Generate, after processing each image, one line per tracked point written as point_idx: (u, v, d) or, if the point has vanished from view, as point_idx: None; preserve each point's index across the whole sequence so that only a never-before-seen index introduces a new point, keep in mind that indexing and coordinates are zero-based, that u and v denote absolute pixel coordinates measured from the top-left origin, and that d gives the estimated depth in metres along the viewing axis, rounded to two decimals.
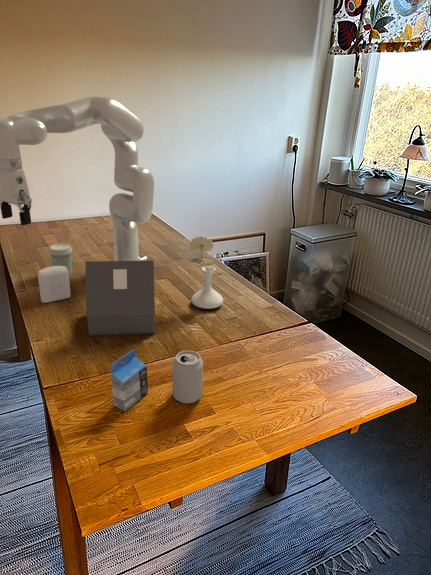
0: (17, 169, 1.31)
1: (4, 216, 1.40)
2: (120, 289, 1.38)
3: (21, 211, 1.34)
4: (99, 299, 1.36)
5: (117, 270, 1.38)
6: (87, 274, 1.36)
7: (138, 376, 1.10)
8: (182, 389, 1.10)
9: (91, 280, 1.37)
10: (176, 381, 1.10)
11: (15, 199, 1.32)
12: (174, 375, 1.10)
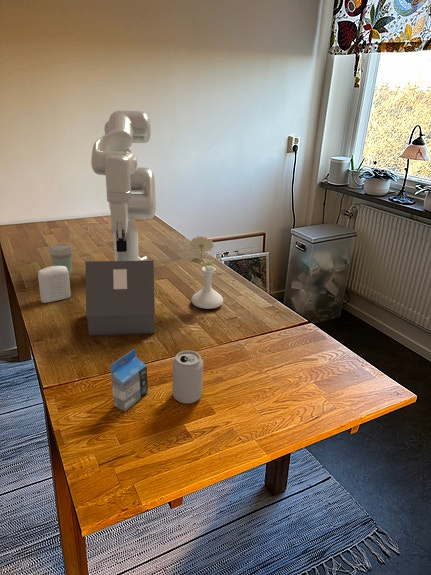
0: None
1: None
2: (120, 289, 1.38)
3: (125, 237, 1.50)
4: (99, 299, 1.36)
5: (117, 270, 1.38)
6: (87, 274, 1.36)
7: (138, 376, 1.10)
8: (182, 389, 1.10)
9: (91, 280, 1.37)
10: (176, 381, 1.10)
11: None
12: (174, 375, 1.10)
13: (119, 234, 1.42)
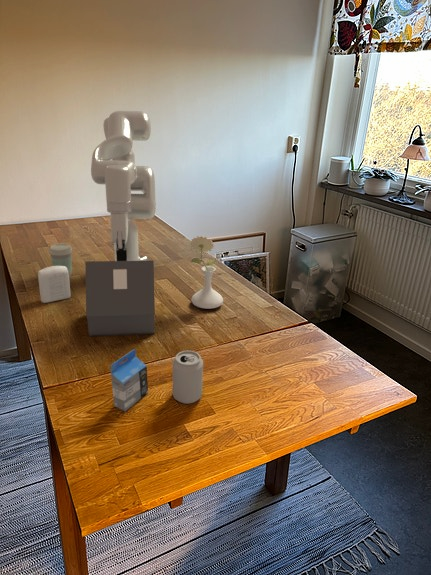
0: None
1: None
2: (120, 289, 1.38)
3: (125, 246, 1.49)
4: (99, 299, 1.36)
5: (117, 270, 1.38)
6: (87, 274, 1.36)
7: (138, 376, 1.10)
8: (182, 389, 1.10)
9: (91, 280, 1.37)
10: (176, 381, 1.10)
11: None
12: (174, 375, 1.10)
13: (119, 244, 1.42)
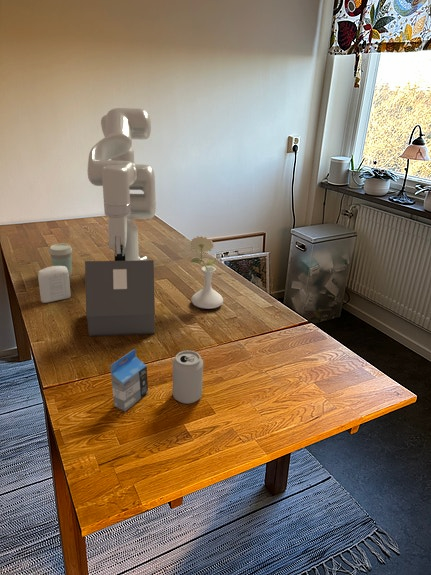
0: None
1: None
2: (120, 289, 1.37)
3: None
4: (99, 299, 1.36)
5: (117, 270, 1.37)
6: (87, 274, 1.36)
7: (138, 376, 1.10)
8: (182, 389, 1.10)
9: (91, 280, 1.36)
10: (176, 381, 1.10)
11: None
12: (174, 375, 1.10)
13: (117, 250, 1.33)
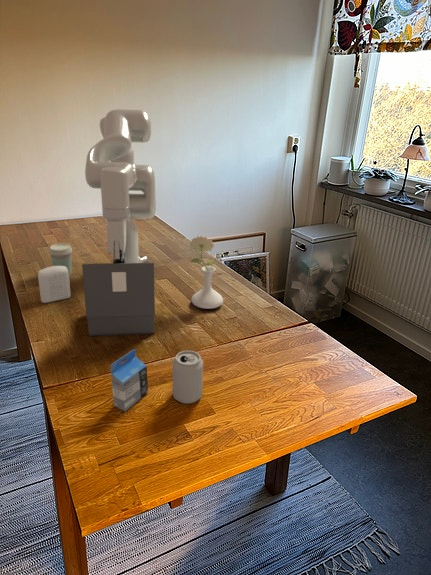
0: None
1: None
2: (119, 291, 1.34)
3: (123, 256, 1.35)
4: (98, 301, 1.34)
5: (116, 273, 1.32)
6: (85, 277, 1.31)
7: (138, 376, 1.10)
8: (182, 389, 1.10)
9: (89, 283, 1.32)
10: (176, 381, 1.10)
11: None
12: (174, 375, 1.10)
13: (116, 255, 1.28)
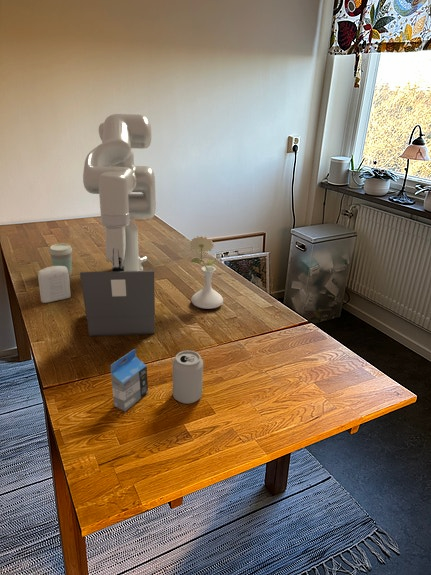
0: None
1: None
2: (119, 296, 1.32)
3: (122, 264, 1.31)
4: (98, 304, 1.33)
5: (115, 280, 1.28)
6: (83, 284, 1.28)
7: (138, 376, 1.10)
8: (182, 389, 1.10)
9: (88, 289, 1.29)
10: (176, 381, 1.10)
11: None
12: (174, 375, 1.10)
13: (115, 263, 1.23)
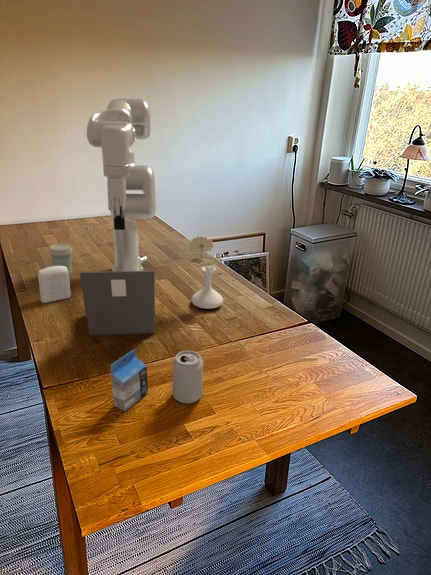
0: None
1: None
2: (119, 296, 1.32)
3: (123, 214, 1.41)
4: (98, 304, 1.33)
5: (115, 280, 1.28)
6: (83, 284, 1.28)
7: (138, 376, 1.10)
8: (182, 389, 1.10)
9: (88, 289, 1.29)
10: (176, 381, 1.10)
11: None
12: (174, 375, 1.10)
13: (117, 211, 1.34)
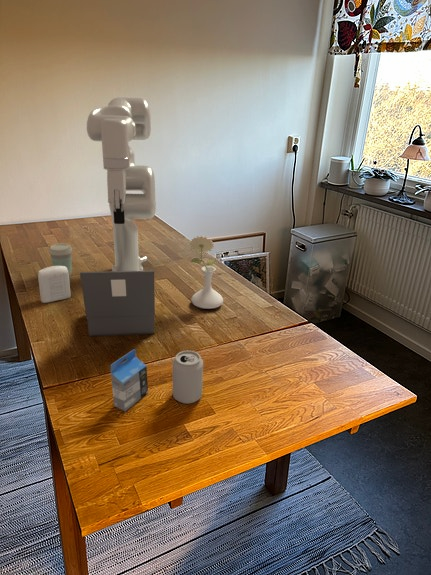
0: None
1: None
2: (119, 296, 1.32)
3: (123, 208, 1.41)
4: (98, 304, 1.33)
5: (115, 280, 1.28)
6: (83, 284, 1.28)
7: (138, 376, 1.10)
8: (182, 389, 1.10)
9: (88, 289, 1.29)
10: (176, 381, 1.10)
11: None
12: (174, 375, 1.10)
13: (116, 204, 1.34)
